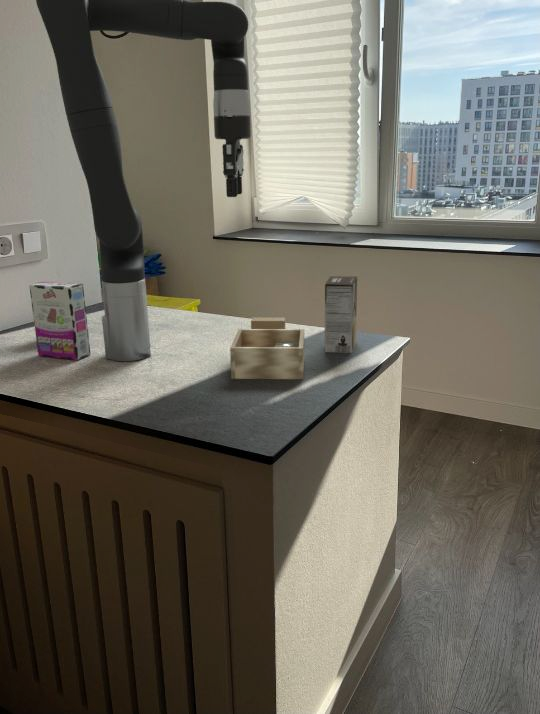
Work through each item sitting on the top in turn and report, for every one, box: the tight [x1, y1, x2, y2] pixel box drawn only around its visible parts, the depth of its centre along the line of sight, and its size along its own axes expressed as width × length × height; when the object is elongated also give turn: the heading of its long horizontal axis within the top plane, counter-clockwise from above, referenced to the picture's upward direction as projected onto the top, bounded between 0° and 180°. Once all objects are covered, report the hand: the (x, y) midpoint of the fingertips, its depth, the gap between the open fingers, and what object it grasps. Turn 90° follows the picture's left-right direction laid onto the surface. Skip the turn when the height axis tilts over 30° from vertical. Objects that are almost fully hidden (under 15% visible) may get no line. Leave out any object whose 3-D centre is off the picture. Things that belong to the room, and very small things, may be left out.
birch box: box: [229, 328, 305, 380], centre depth 131 cm, size 14×14×7 cm
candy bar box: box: [28, 281, 91, 361], centre depth 142 cm, size 11×5×16 cm, turn 68°
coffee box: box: [324, 275, 358, 354], centre depth 143 cm, size 9×6×16 cm
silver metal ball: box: [275, 342, 294, 347], centre depth 134 cm, size 4×4×4 cm
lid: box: [250, 317, 286, 329], centre depth 154 cm, size 15×15×6 cm
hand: (234, 195), depth 137 cm, fingers open, 8 cm apart
